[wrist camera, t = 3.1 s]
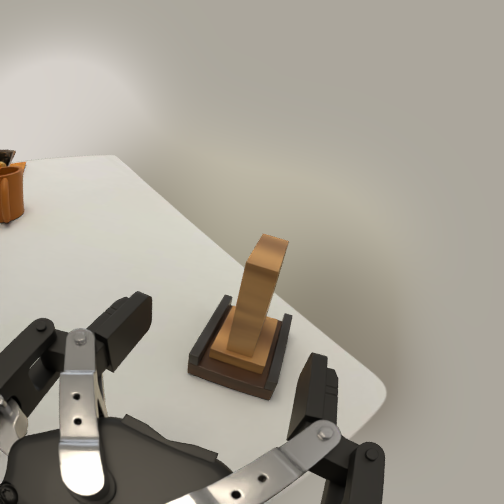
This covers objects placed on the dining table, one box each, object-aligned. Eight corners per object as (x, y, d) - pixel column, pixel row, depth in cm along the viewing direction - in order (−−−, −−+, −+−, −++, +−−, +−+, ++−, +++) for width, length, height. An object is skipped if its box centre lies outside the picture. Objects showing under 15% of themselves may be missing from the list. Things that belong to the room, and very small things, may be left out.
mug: (-19, 233, 33) (-25, 184, 29) (-8, 209, 40) (-11, 168, 36) (21, 226, 38) (18, 177, 34) (26, 204, 46) (24, 163, 42)
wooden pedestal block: (261, 374, 24) (295, 280, 19) (208, 357, 24) (226, 259, 20) (275, 327, 30) (303, 243, 26) (231, 313, 31) (250, 227, 26)
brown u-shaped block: (269, 400, 23) (277, 383, 22) (187, 372, 24) (188, 353, 23) (285, 333, 32) (292, 315, 31) (221, 312, 33) (225, 294, 32)
